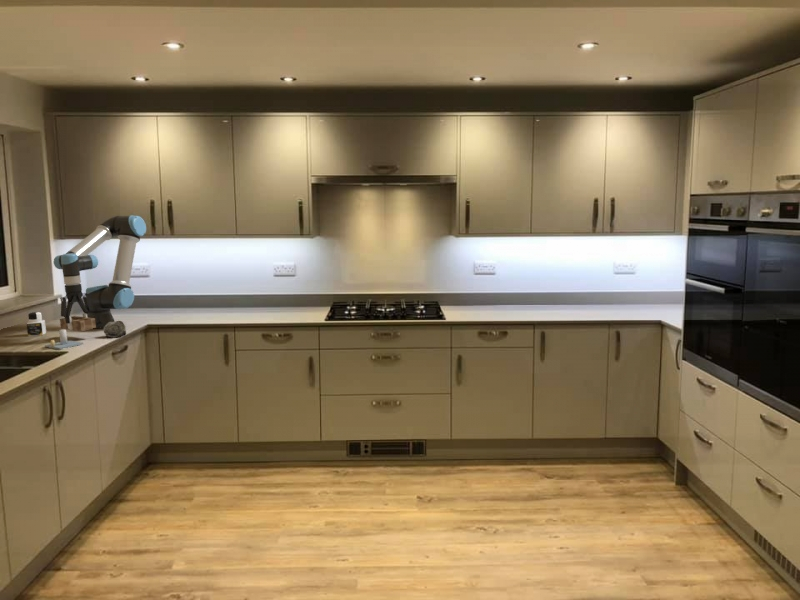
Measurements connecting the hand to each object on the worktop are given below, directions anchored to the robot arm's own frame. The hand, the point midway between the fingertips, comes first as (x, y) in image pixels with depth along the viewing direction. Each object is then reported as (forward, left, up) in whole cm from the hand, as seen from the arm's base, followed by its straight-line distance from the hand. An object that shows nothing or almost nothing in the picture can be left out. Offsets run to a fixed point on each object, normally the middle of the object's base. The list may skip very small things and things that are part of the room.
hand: (78, 327), depth 314 cm
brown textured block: (0, 0, 0) cm, 0 cm away
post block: (+15, +10, -6) cm, 19 cm away
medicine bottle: (+4, -31, -6) cm, 32 cm away
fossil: (-11, +14, -6) cm, 19 cm away
